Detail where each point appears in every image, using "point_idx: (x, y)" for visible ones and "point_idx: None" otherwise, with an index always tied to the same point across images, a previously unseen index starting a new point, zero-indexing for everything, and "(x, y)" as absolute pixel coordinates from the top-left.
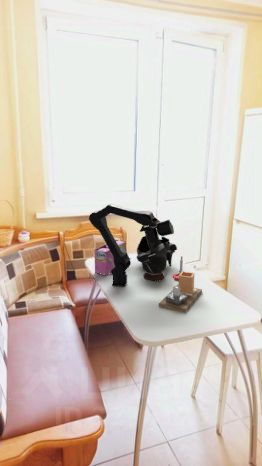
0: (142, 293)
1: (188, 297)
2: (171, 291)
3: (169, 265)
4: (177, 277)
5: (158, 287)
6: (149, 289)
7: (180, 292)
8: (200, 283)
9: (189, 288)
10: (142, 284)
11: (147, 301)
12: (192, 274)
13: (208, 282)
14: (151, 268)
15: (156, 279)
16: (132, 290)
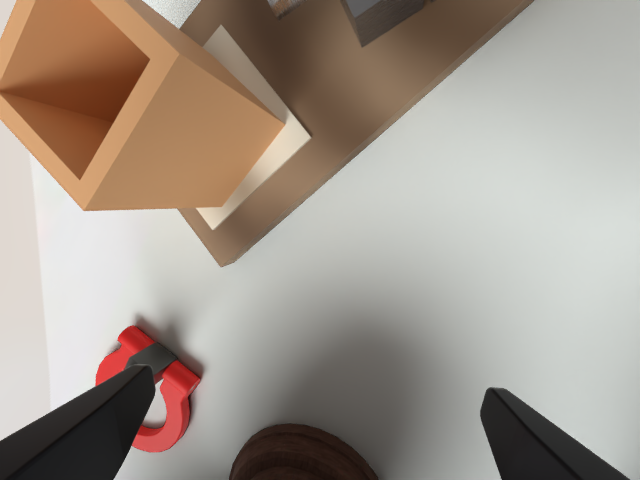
0: (568, 285)
1: (259, 1)
2: (329, 164)
3: (146, 400)
4: (167, 388)
5: (365, 328)
6: (456, 329)
7: (273, 110)
8: (83, 254)
9: (191, 41)
10: (461, 443)
11: (623, 106)
12: (10, 47)
13: (41, 246)
14: (600, 474)
15: (318, 444)
16: (629, 386)
